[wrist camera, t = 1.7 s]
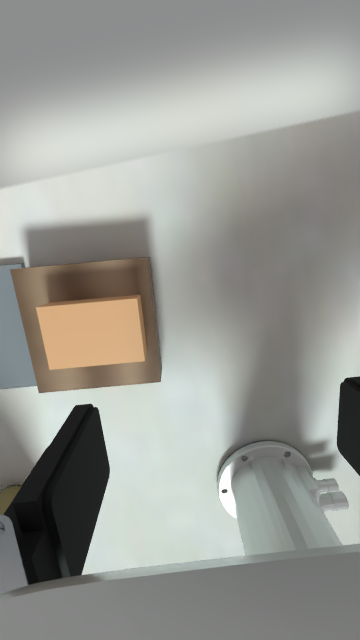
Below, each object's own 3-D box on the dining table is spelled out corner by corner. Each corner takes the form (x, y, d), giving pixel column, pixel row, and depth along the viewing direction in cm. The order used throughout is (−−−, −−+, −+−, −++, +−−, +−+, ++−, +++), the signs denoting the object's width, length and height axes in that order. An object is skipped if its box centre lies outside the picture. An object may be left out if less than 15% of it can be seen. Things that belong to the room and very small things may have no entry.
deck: (149, 257, 28) (146, 257, 25) (161, 368, 31) (160, 381, 28) (29, 267, 28) (9, 269, 25) (53, 378, 31) (38, 393, 28)
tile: (140, 294, 26) (136, 298, 23) (147, 351, 27) (144, 361, 25) (48, 302, 26) (35, 307, 23) (60, 359, 27) (49, 369, 25)
